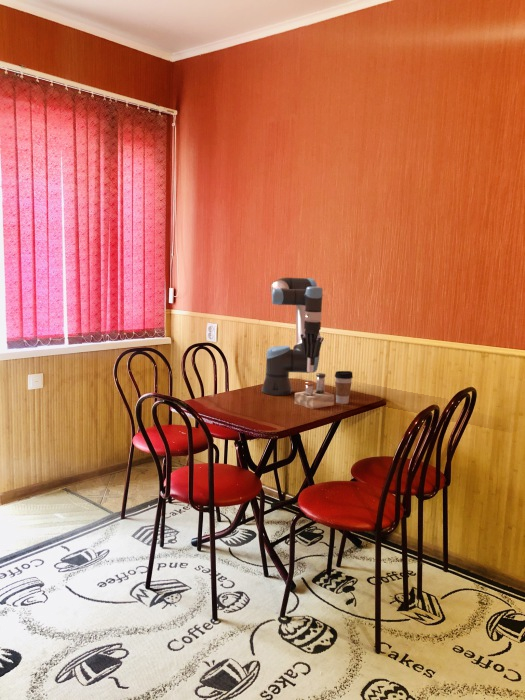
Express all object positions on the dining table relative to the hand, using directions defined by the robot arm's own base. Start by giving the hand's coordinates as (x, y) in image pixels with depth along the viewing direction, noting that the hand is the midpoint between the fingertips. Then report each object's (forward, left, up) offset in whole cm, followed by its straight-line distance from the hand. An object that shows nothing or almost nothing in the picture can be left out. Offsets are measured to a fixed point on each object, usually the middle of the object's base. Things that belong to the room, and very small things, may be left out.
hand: (310, 371), depth 263 cm
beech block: (0, +3, -16) cm, 16 cm away
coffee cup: (+5, +18, -16) cm, 24 cm away
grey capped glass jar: (0, +7, -11) cm, 13 cm away
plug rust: (0, 0, -14) cm, 14 cm away
